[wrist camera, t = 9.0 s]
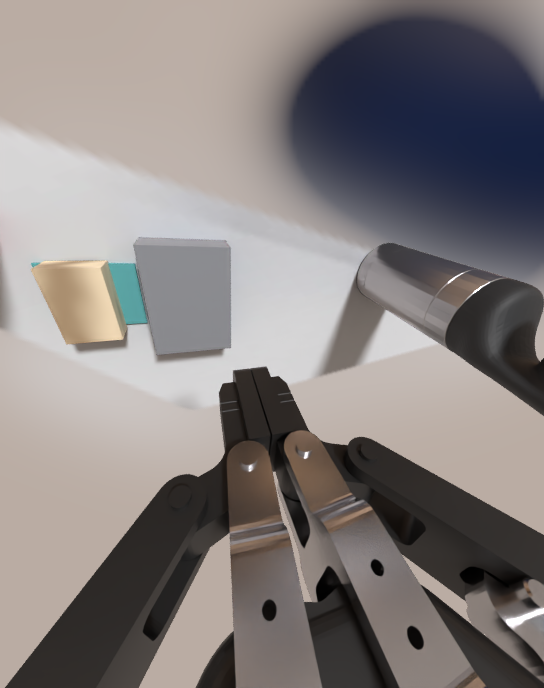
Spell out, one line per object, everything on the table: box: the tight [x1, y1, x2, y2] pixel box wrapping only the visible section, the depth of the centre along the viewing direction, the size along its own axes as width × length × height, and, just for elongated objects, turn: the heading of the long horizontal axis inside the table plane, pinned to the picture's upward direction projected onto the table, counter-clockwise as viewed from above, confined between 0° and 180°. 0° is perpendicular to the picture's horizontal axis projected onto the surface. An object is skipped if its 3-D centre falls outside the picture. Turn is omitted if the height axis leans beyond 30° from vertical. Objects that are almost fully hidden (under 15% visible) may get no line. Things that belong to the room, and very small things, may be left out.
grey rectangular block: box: [133, 237, 231, 355], centre depth 32 cm, size 10×14×4 cm
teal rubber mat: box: [31, 263, 147, 324], centre depth 30 cm, size 10×8×1 cm
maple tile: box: [31, 261, 127, 344], centre depth 28 cm, size 6×9×3 cm, turn 176°
